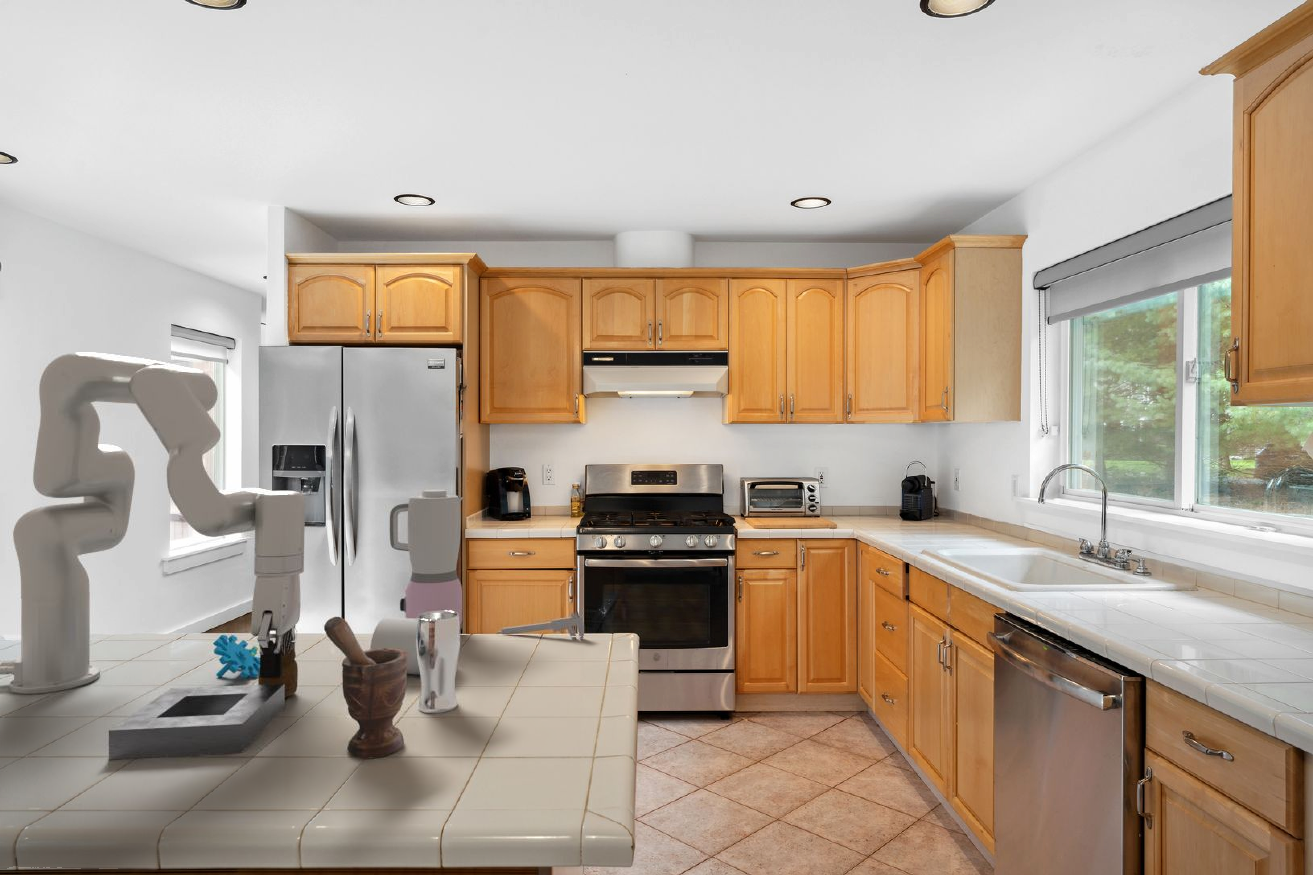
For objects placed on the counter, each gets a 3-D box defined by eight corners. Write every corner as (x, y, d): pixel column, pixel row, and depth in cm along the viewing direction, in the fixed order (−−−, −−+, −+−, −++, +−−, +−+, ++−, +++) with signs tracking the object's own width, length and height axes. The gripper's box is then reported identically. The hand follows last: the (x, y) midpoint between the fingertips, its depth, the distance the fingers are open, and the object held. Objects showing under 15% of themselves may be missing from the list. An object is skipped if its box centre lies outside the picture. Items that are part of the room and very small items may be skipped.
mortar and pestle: (372, 774, 98) (372, 622, 98) (314, 768, 99) (314, 618, 99) (418, 739, 109) (418, 602, 109) (364, 734, 111) (365, 599, 111)
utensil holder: (304, 692, 127) (306, 622, 127) (268, 703, 122) (270, 629, 122) (284, 685, 131) (286, 616, 130) (249, 695, 125) (250, 624, 125)
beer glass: (468, 703, 124) (469, 612, 124) (440, 717, 117) (440, 622, 117) (436, 696, 127) (436, 608, 127) (406, 710, 120) (406, 617, 120)
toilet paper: (370, 680, 135) (370, 624, 135) (395, 663, 145) (395, 612, 145) (423, 682, 134) (423, 626, 134) (445, 665, 144) (445, 613, 144)
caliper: (584, 640, 163) (584, 611, 163) (582, 641, 162) (582, 612, 162) (498, 633, 168) (498, 605, 168) (496, 635, 167) (496, 607, 167)
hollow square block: (108, 759, 102) (108, 730, 102) (171, 713, 119) (171, 688, 119) (241, 752, 104) (241, 723, 104) (284, 708, 121) (284, 683, 121)
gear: (243, 677, 131) (208, 635, 133) (218, 701, 131) (183, 659, 132) (278, 666, 142) (245, 628, 144) (255, 689, 142) (222, 650, 143)
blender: (464, 625, 174) (464, 488, 174) (461, 639, 162) (462, 492, 162) (393, 628, 171) (393, 489, 171) (385, 643, 159) (385, 493, 159)
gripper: (274, 555, 134) (272, 656, 134) (234, 574, 117) (232, 689, 117) (318, 555, 135) (316, 655, 135) (285, 573, 118) (283, 687, 118)
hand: (277, 669), depth 126 cm, fingers closed on utensil holder, 5 cm apart
